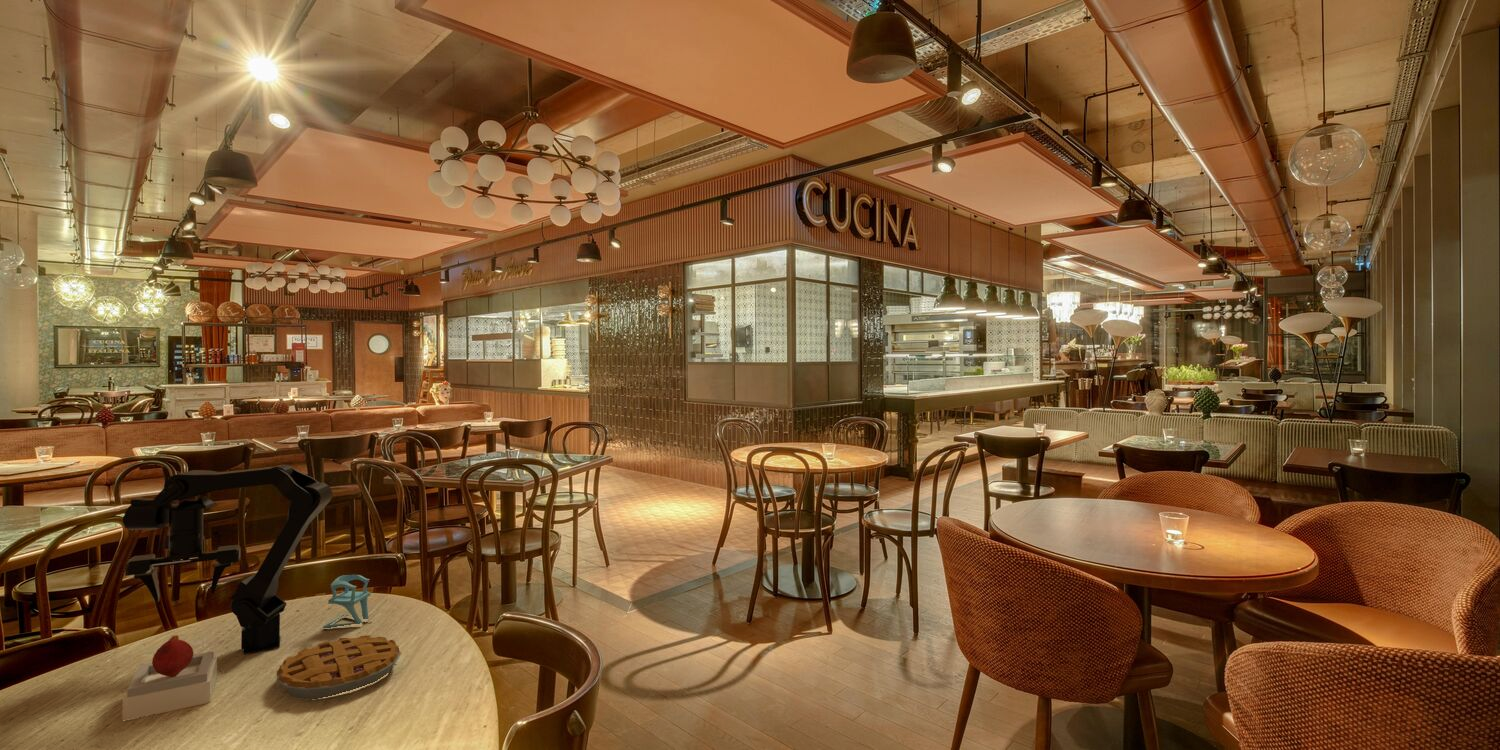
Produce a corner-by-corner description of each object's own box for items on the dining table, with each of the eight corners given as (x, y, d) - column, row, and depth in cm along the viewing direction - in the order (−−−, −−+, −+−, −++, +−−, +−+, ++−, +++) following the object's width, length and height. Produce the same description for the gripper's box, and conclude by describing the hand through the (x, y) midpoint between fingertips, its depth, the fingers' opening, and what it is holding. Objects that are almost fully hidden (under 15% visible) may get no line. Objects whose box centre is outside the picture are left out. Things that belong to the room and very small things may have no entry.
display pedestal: (216, 676, 130) (217, 649, 130) (209, 702, 121) (210, 673, 121) (136, 692, 123) (137, 664, 123) (122, 721, 114) (122, 691, 114)
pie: (415, 677, 133) (416, 653, 132) (289, 718, 117) (290, 691, 116) (381, 643, 147) (381, 622, 147) (264, 676, 131) (265, 652, 131)
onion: (168, 685, 119) (168, 643, 118) (143, 682, 120) (144, 640, 120) (200, 671, 124) (201, 631, 124) (176, 668, 125) (177, 628, 125)
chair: (356, 631, 153) (357, 582, 153) (322, 630, 154) (323, 581, 153) (375, 618, 161) (376, 572, 161) (342, 617, 161) (344, 570, 161)
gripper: (242, 515, 153) (242, 579, 153) (136, 525, 142) (135, 594, 142) (238, 525, 143) (238, 594, 144) (125, 537, 133) (124, 610, 133)
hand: (185, 597), depth 141 cm, fingers open, 9 cm apart
